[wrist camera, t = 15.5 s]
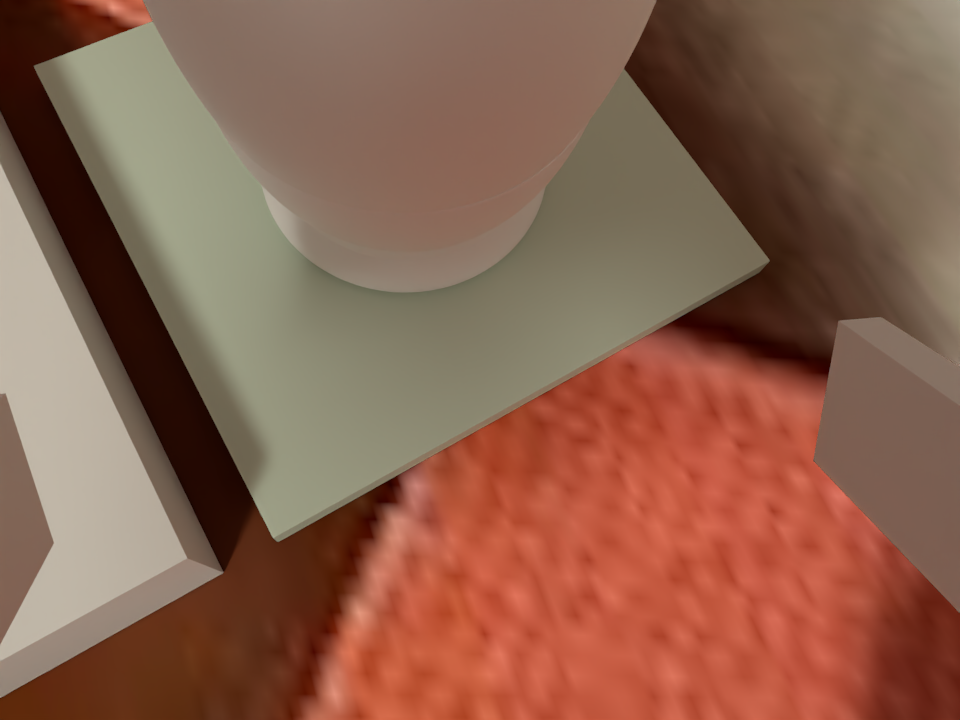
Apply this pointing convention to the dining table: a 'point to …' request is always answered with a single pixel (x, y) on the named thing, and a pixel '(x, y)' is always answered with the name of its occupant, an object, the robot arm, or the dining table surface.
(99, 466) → the white square frame
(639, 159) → the pad
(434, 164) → the jar
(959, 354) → the dining table surface
